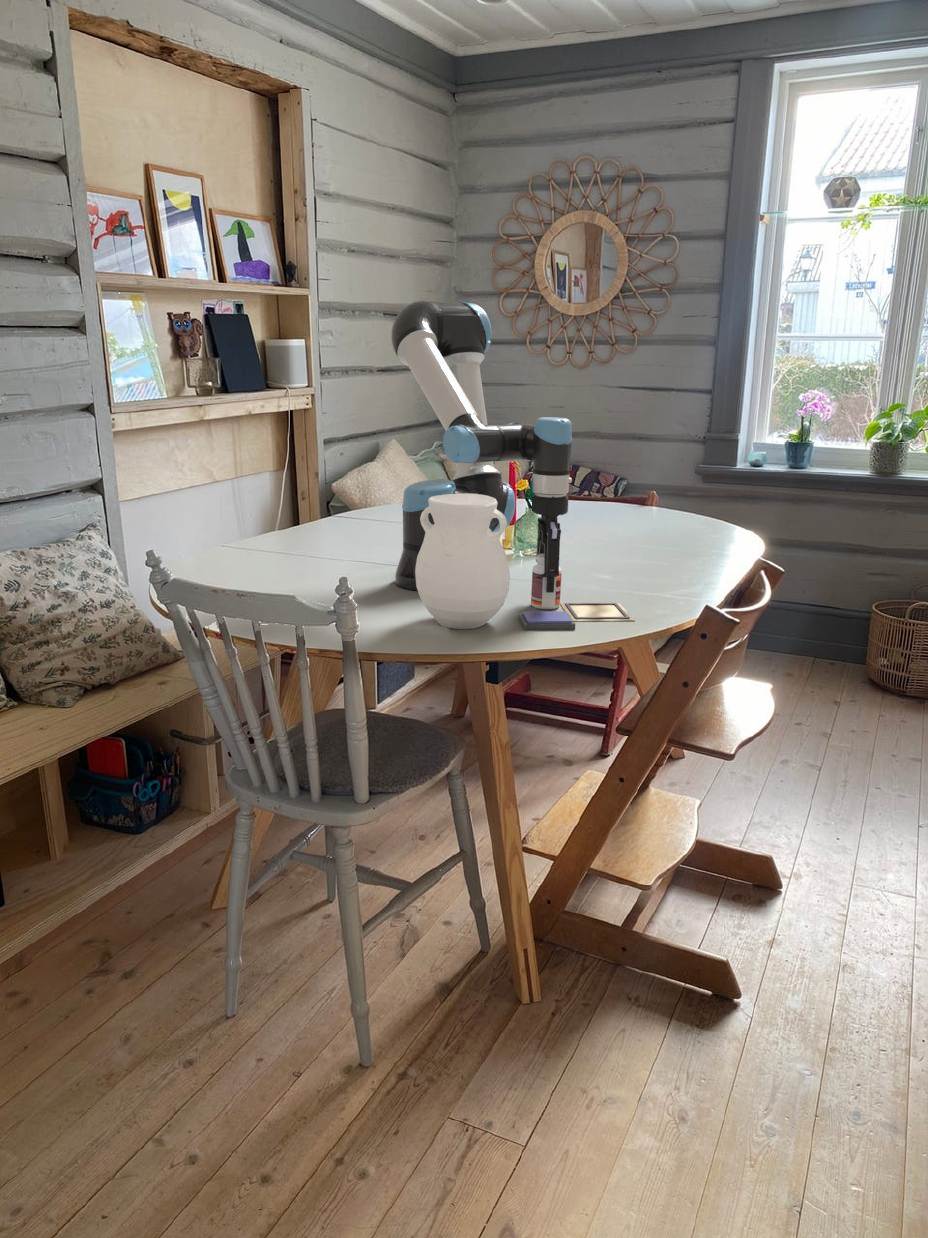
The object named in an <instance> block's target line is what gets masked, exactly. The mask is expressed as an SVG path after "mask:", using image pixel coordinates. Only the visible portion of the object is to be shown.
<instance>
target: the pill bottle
mask: <svg viewBox="0 0 928 1238" xmlns="http://www.w3.org/2000/svg"><path fill="white" fill-rule="evenodd" d="M536 561H537V562H536ZM535 562H536V564H535V565H534V566H533V567H532V573H531V575H532V576H531V594H530V595H531V597H530V604H531V606H532V607H533V608H536V609H539V610H555V609H557V608H559V607H560V606H561V605H560V603H561V593H562V592H561V588H562V574H563V573H562V571H563V570H562V568H561V567H560V566H559V576H557V577H556V596H555V607H542V587H543V577H541V574H544V554H538V555H537V558H535Z"/></svg>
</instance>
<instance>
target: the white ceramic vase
mask: <svg viewBox="0 0 928 1238" xmlns="http://www.w3.org/2000/svg"><path fill="white" fill-rule="evenodd" d="M428 503H429V506H428V507H427V508H426V509H425V510H424V511H423V512H422V514H421V517H420V521H421V525H422V527H423V529H424V530H425V537H424V541H423V544H422V546H421V549H420V551H419V554H418V556H417V561H416V568H415V575H416V587H417V590H416V591H417V592H418V596H419V598H420V602H421V603H422V604H423V606H425V608H426V610H427V612H428V613H429V614H430V615H431V616H432V617H433V618H434V620H435V621H437V623H439V625H440V626H442V627H444V628H449V629H452V630H455V629H456V630H470V629H478V628H480V627H482V626H484V625H485V624H487V623H488V622H489V621H490V620H491V619H493V618H494V616H495V615H497V613H498V612H499V611H500V610H501V609H502V607H503V606H504V603H505V601H506V598H507V596H508V594H509V591H510V580H511V575H510V566H509V560H508V557H507V554H506V551H505V548H504V546H503V545H502V543H501V541H500V538H501V536H502V535H503V533H504V532H505V530H506V529H507V528H506V525H507V521H506V517H505V516H504V515H503V514H502V513H501V512H500V511H498V510H497V503H498V502H497V500H496V499H495V498H493V497H490V496H487V495H480V494H468V493H463V494H446V495H438V496H432V497H431V498H429V500H428ZM429 513H431V515H432V517H433V520H434V523H435V524H434V525H432V524H431V523H430V522H429V519H428V514H429ZM492 518H497V519H498V520H499V522H500V530H499V531H497V532H494V533H493V532H492V531H491V530H490V529H489V526H490V522H491V520H492ZM505 528H506V529H505Z"/></svg>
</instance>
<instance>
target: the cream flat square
mask: <svg viewBox="0 0 928 1238" xmlns="http://www.w3.org/2000/svg"><path fill="white" fill-rule="evenodd" d="M559 606H560V607H562V610H564V611H565V612H566V613H568V614H569V616H570V617H571V619H572V620H573V621H574V622H635V621H636V619H635V618H634V617H633V616H632V615H631V614H630V613H629V612H628V611H627V609H626V608H625V607H624V606H623V605H622V604H621V603H620V602H577V603H576V602H565V603H561V602H560V605H559Z"/></svg>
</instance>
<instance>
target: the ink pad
mask: <svg viewBox="0 0 928 1238" xmlns="http://www.w3.org/2000/svg"><path fill="white" fill-rule="evenodd" d="M518 619H519V621H520V623H521V626H522V627H523V630H525V631H530V630H531V631H536V630H537V631H541V630H542V631H545V630H548V631H549V630H550V631H551V630H555V631H557V630H559V631H560V630H561V631H562V630H566V631H568V630H573V631H574V630H576V622H575V621H573V620H572V619H571V617H570V616H569V614H568V613H566V612H565V611H561V610H559V611H558V610H556V611H554V610H553V611H552V610H551V611H548V610H546V611H542V610H541V611H522V612H518Z"/></svg>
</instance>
